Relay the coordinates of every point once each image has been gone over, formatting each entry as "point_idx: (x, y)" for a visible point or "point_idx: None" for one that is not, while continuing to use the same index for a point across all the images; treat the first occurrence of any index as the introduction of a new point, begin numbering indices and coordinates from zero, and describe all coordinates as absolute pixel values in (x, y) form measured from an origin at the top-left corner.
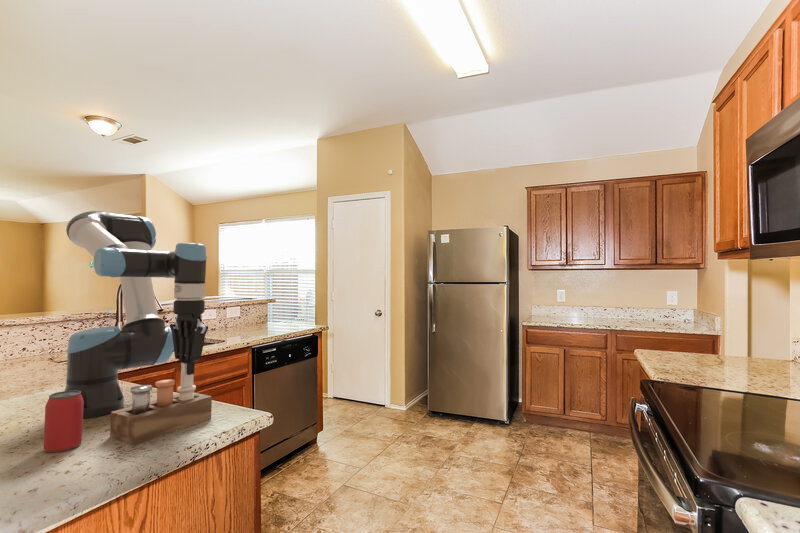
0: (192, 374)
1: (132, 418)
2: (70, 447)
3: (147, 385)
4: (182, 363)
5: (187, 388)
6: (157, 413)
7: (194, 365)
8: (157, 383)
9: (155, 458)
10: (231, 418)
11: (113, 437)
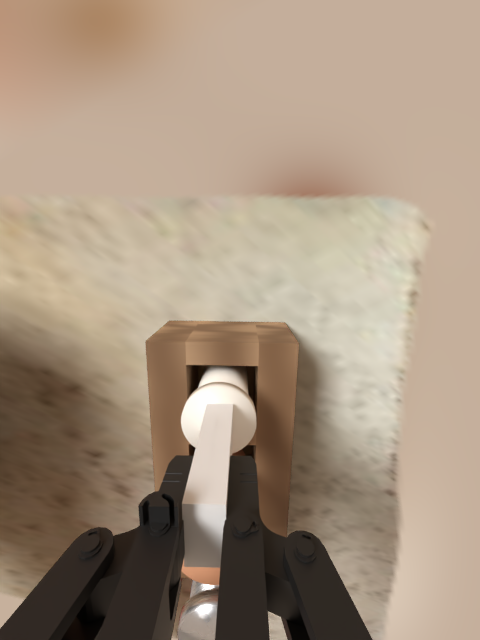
0: (230, 444)
1: None
2: (181, 578)
3: (207, 613)
4: (199, 562)
5: (246, 437)
6: (286, 526)
7: (257, 499)
8: (213, 582)
9: (374, 527)
10: (344, 293)
11: None
